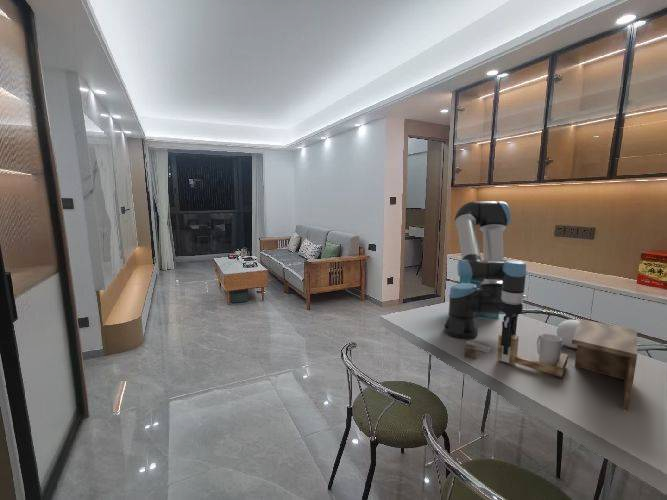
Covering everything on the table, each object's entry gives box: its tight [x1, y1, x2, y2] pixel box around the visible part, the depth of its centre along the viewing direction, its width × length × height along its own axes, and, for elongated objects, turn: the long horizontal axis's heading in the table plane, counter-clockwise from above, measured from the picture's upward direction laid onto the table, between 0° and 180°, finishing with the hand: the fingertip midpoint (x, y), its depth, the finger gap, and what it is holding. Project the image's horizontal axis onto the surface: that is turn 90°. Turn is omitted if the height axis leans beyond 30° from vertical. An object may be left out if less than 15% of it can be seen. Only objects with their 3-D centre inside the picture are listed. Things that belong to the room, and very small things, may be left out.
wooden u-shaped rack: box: [496, 331, 569, 378], centre depth 128 cm, size 21×14×10 cm, turn 48°
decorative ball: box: [556, 319, 580, 349], centre depth 143 cm, size 12×12×12 cm
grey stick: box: [465, 340, 492, 354], centre depth 143 cm, size 10×2×2 cm, turn 44°
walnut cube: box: [464, 344, 477, 360], centre depth 136 cm, size 4×4×4 cm
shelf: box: [572, 318, 638, 412], centre depth 114 cm, size 16×24×18 cm, turn 139°
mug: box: [536, 333, 563, 366], centre depth 128 cm, size 10×7×12 cm, turn 6°
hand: (506, 359), depth 131 cm, fingers closed on wooden u-shaped rack, 4 cm apart
